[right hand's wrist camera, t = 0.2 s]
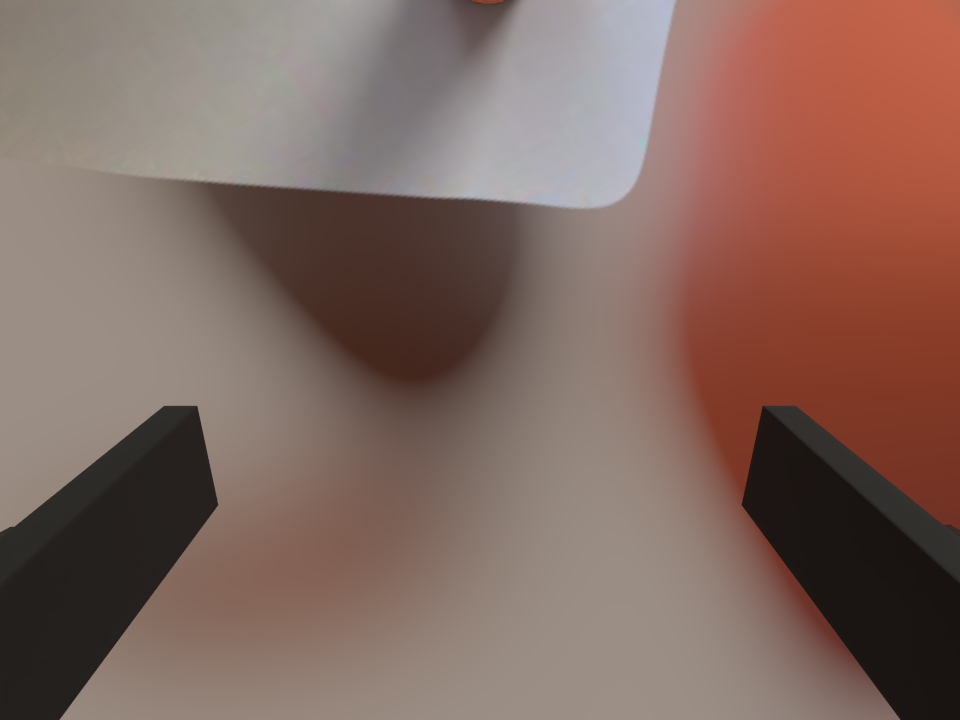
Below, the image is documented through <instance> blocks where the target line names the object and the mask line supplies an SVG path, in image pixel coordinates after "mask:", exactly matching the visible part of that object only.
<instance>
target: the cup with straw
mask: <svg viewBox="0 0 960 720" xmlns="http://www.w3.org/2000/svg"><path fill="white" fill-rule="evenodd" d="M471 1H474V2H477V3H481V4H494V3H499V2H503V1H505V0H471Z"/></svg>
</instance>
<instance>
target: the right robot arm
mask: <svg viewBox="0 0 960 720" xmlns="http://www.w3.org/2000/svg"><path fill="white" fill-rule="evenodd" d="M217 506H218V502H217V497H216V493H215V487H214V483H213V478H212V474H211V469H210V464H209V459H208V455H207V450H206V445H205V440H204V436H203V431H202V426H201V421H200V417H199V412H198V407H197V406H164V407H162V408H161V409H160V410H159V411H157V412H156V413H155V414H154V415H152V416H151V417H150V418H149V419H147V420H146V421H145V422H144V423H143V424H141V425H140V426H139V427H138V428H136V429H135V430H134V431H133V432H131V433H130V434H129V435H128V436H126V437H125V438H124V439H123V440H121V441H120V442H119V443H118V444H117V445H115V446H114V447H113V448H112V449H110V450H109V451H108V452H107V453H105V454H104V455H103V456H102V457H100V458H99V459H98V460H97V461H95V462H94V463H93V464H92V465H91V466H89V467H88V468H87V469H86V470H84V471H83V472H82V473H81V474H79V475H78V476H77V477H76V478H74V479H73V480H72V481H71V482H69V483H68V484H67V485H66V486H64V487H63V488H62V489H61V490H60V491H58V492H57V493H56V494H55V495H53V496H52V497H51V498H50V499H48V500H47V501H46V502H45V503H43V504H42V505H41V506H40V507H38V508H37V509H36V510H35V511H33V512H32V513H31V514H30V515H29V516H27V517H26V518H25V519H24V520H22V521H21V522H20V523H19V524H17V525H16V526H15V527H9V528H8V529H6V530H4V531H2V532H0V720H60V718H61V717H62V716H63V714H64V713H65V712H66V710H67V709H68V707H69V706H70V705H71V703H72V702H73V701H74V699H75V698H76V697H77V695H78V694H79V693H80V691H81V690H82V689H83V687H84V686H85V685H86V683H87V682H88V680H89V679H90V678H91V676H92V675H93V674H94V672H95V671H96V670H97V668H98V667H99V666H100V664H101V663H102V662H103V660H104V659H105V657H106V656H107V655H108V653H109V652H110V651H111V649H112V648H113V647H114V645H115V644H116V643H117V641H118V640H119V639H120V637H121V636H122V634H123V633H124V632H125V630H126V629H127V628H128V626H129V625H130V624H131V622H132V621H133V620H134V618H135V617H136V616H137V614H138V613H139V611H140V610H141V609H142V607H143V606H144V605H145V603H146V602H147V601H148V599H149V598H150V596H151V595H152V594H153V593H154V591H155V590H156V588H157V587H158V586H159V584H160V583H161V582H162V580H163V579H164V578H165V576H166V575H167V574H168V572H169V571H170V569H171V568H172V567H173V566H174V564H175V563H176V561H177V560H178V559H179V557H180V556H181V555H182V553H183V552H184V551H185V549H186V548H187V547H188V545H189V544H190V543H191V541H192V540H193V538H194V537H195V536H196V534H197V533H198V532H199V530H200V529H201V528H202V526H203V525H204V524H205V522H206V521H207V519H208V518H209V517H210V515H211V514H212V513H213V511H214V510H215V509H216V507H217ZM742 506H743V507H744V509H745V510H746V511H747V513H748V514H749V515H750V517H751V518H752V520H753V521H754V522H755V524H756V525H757V526H758V528H759V529H760V530H761V532H762V533H763V534H764V536H765V537H766V538H767V540H768V541H769V543H770V544H771V545H772V547H773V548H774V549H775V551H776V552H777V553H778V555H779V556H780V557H781V559H782V560H783V561H784V563H785V564H786V566H787V567H788V568H789V570H790V571H791V572H792V574H793V575H794V576H795V578H796V579H797V580H798V582H799V583H800V584H801V586H802V587H803V588H804V590H805V591H806V593H807V594H808V595H809V597H810V598H811V599H812V601H813V602H814V603H815V605H816V606H817V607H818V609H819V610H820V611H821V613H822V614H823V616H824V617H825V618H826V620H827V621H828V622H829V624H830V625H831V626H832V628H833V629H834V630H835V632H836V633H837V634H838V636H839V637H840V639H841V640H842V641H843V642H844V644H845V645H846V647H847V648H848V649H849V651H850V652H851V653H852V655H853V656H854V657H855V659H856V660H857V661H858V663H859V664H860V666H861V667H862V668H863V670H864V671H865V672H866V674H867V675H868V676H869V678H870V679H871V680H872V682H873V683H874V684H875V686H876V687H877V689H878V690H879V691H880V693H881V694H882V695H883V697H884V698H885V699H886V701H887V702H888V703H889V705H890V706H891V707H892V709H893V710H894V711H895V713H896V714H897V716H898V717H899V718H900V720H960V530H959V529H957V528H955V527H953V526H951V525H943V524H941V523H940V522H939V521H937V520H936V519H935V518H934V517H933V516H931V515H930V514H929V513H928V512H926V511H925V510H924V509H923V508H921V507H920V506H919V505H918V504H917V503H915V502H914V501H913V500H912V499H910V498H909V497H908V496H907V495H905V494H904V493H903V492H902V491H900V490H899V489H898V488H897V487H896V486H894V485H893V484H892V483H891V482H889V481H888V480H887V479H886V478H884V477H883V476H882V475H881V474H879V473H878V472H877V471H876V470H874V469H873V468H872V467H871V466H869V465H868V464H867V463H866V462H865V461H863V460H862V459H861V458H860V457H858V456H857V455H856V454H855V453H853V452H852V451H851V450H850V449H848V448H847V447H846V446H845V445H843V444H842V443H841V442H840V441H839V440H837V439H836V438H835V437H834V436H832V435H831V434H830V433H829V432H827V431H826V430H825V429H824V428H822V427H821V426H820V425H819V424H817V423H816V422H815V421H814V420H813V419H811V418H810V417H809V416H808V415H806V414H805V413H804V412H803V411H801V410H800V409H799V408H798V407H796V406H763V407H762V412H761V417H760V421H759V426H758V431H757V436H756V440H755V445H754V450H753V454H752V459H751V464H750V469H749V473H748V478H747V483H746V488H745V492H744V497H743V502H742Z"/></svg>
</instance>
